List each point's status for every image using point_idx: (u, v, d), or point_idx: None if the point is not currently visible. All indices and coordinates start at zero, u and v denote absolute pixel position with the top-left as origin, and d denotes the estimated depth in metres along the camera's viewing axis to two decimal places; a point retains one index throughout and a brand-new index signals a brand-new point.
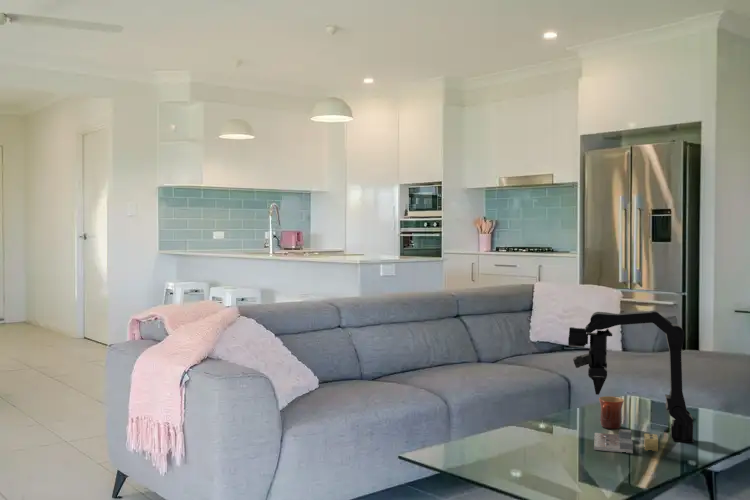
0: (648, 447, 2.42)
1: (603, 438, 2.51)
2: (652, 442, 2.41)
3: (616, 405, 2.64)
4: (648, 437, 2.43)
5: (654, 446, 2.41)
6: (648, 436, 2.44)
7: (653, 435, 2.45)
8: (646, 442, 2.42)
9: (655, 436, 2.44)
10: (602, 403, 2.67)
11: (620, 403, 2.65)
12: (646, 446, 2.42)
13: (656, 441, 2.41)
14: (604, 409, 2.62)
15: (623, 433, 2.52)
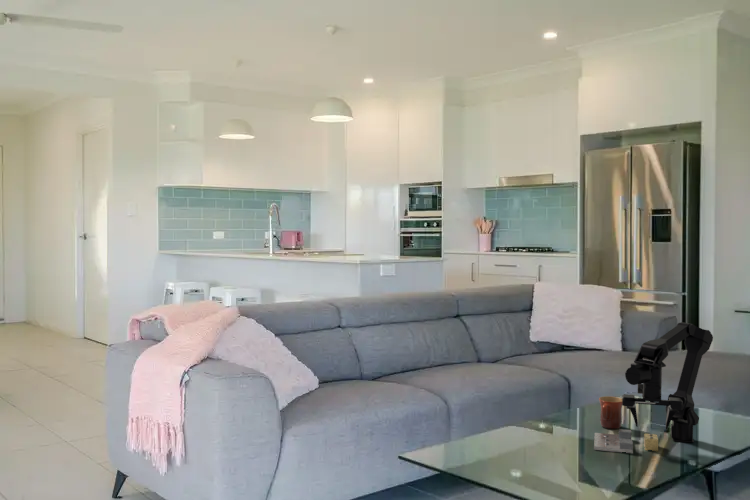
0: (648, 447, 2.42)
1: (603, 438, 2.51)
2: (652, 442, 2.41)
3: (616, 405, 2.64)
4: (648, 437, 2.43)
5: (654, 446, 2.41)
6: (648, 436, 2.44)
7: (653, 435, 2.45)
8: (646, 442, 2.42)
9: (655, 436, 2.44)
10: (602, 403, 2.67)
11: (620, 403, 2.65)
12: (646, 446, 2.42)
13: (656, 441, 2.41)
14: (604, 409, 2.62)
15: (623, 433, 2.52)
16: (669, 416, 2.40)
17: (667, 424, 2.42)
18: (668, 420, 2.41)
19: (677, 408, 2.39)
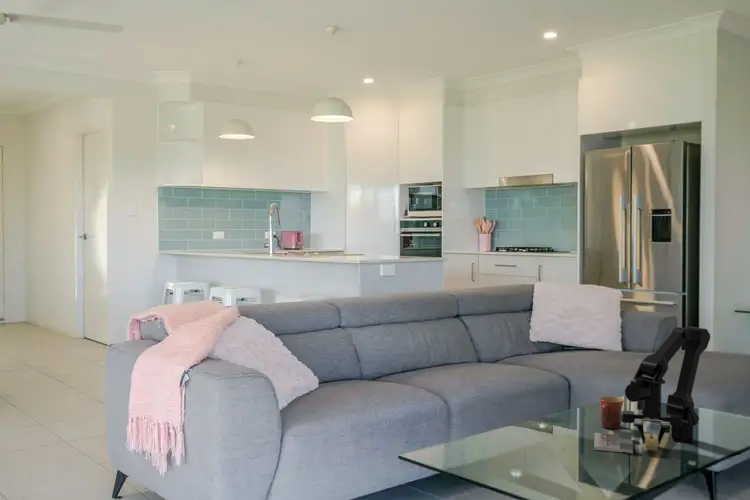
0: (648, 447, 2.42)
1: (603, 438, 2.51)
2: (652, 441, 2.41)
3: (616, 405, 2.64)
4: (648, 437, 2.43)
5: (654, 446, 2.41)
6: (648, 436, 2.44)
7: (653, 435, 2.45)
8: (646, 442, 2.42)
9: (655, 436, 2.44)
10: (602, 403, 2.67)
11: (620, 403, 2.65)
12: (646, 446, 2.42)
13: (656, 441, 2.41)
14: (604, 409, 2.62)
15: (623, 433, 2.52)
16: (661, 432, 2.41)
17: (659, 440, 2.42)
18: (660, 436, 2.42)
19: (676, 425, 2.39)
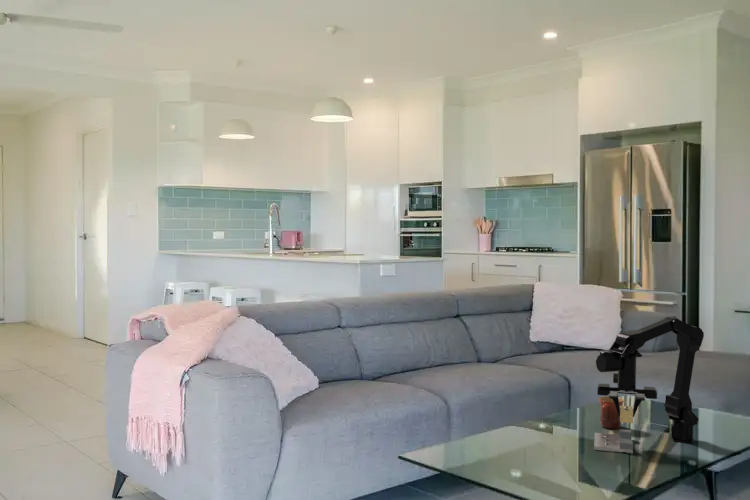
0: (623, 418, 2.44)
1: (603, 438, 2.51)
2: (627, 413, 2.43)
3: None
4: (623, 409, 2.45)
5: (629, 417, 2.43)
6: (623, 408, 2.46)
7: (628, 407, 2.47)
8: (621, 414, 2.44)
9: (630, 408, 2.46)
10: (602, 403, 2.67)
11: (620, 403, 2.65)
12: (621, 418, 2.44)
13: (631, 412, 2.43)
14: (604, 409, 2.62)
15: (623, 433, 2.52)
16: (635, 404, 2.43)
17: (634, 412, 2.44)
18: (635, 408, 2.44)
19: (651, 397, 2.41)
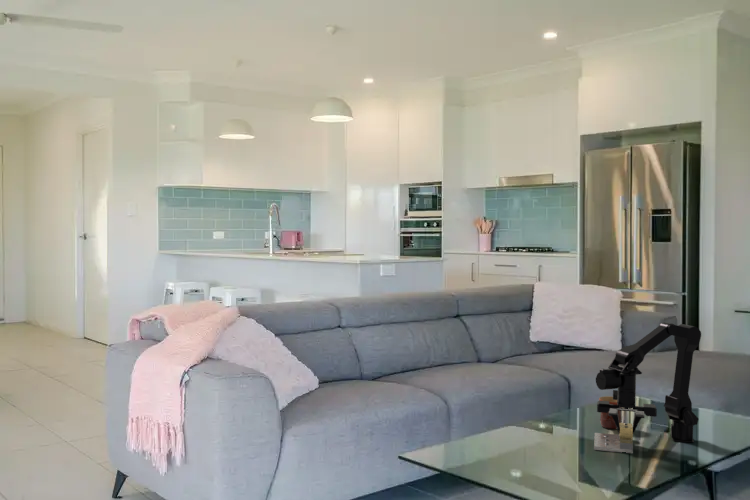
0: (623, 436, 2.44)
1: (603, 438, 2.51)
2: (627, 431, 2.44)
3: None
4: (623, 426, 2.45)
5: (629, 435, 2.43)
6: (623, 425, 2.46)
7: (628, 424, 2.48)
8: (621, 431, 2.44)
9: (630, 425, 2.46)
10: None
11: None
12: (621, 435, 2.44)
13: (631, 430, 2.43)
14: None
15: None
16: (635, 422, 2.43)
17: (633, 430, 2.45)
18: (634, 426, 2.44)
19: (651, 414, 2.41)
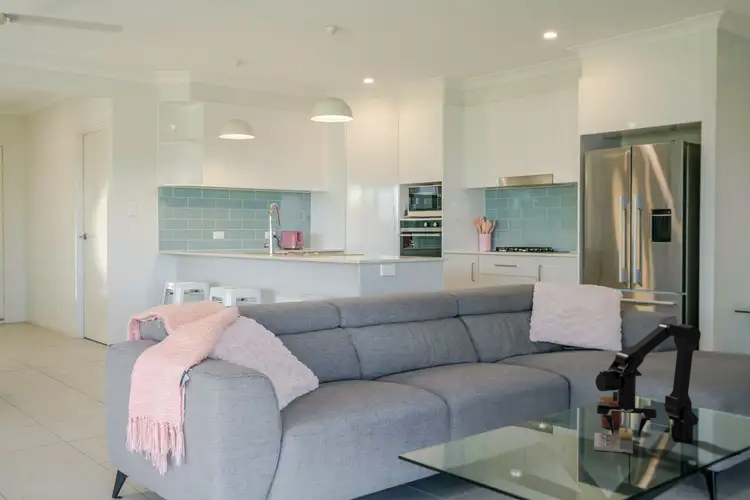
0: None
1: (603, 438, 2.51)
2: (626, 435, 2.44)
3: (616, 405, 2.64)
4: (623, 431, 2.45)
5: (629, 440, 2.43)
6: (623, 430, 2.47)
7: (628, 429, 2.48)
8: (621, 436, 2.44)
9: (630, 430, 2.47)
10: None
11: None
12: None
13: (630, 435, 2.43)
14: None
15: None
16: (641, 424, 2.43)
17: (639, 432, 2.44)
18: (640, 428, 2.43)
19: (650, 416, 2.41)
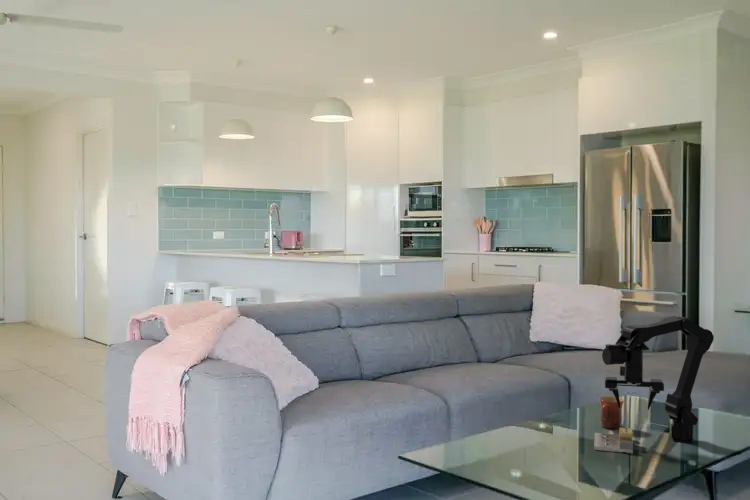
0: None
1: (603, 438, 2.51)
2: (626, 435, 2.44)
3: (616, 405, 2.64)
4: (623, 431, 2.45)
5: (629, 440, 2.43)
6: (623, 430, 2.47)
7: (628, 429, 2.48)
8: (621, 436, 2.44)
9: (630, 430, 2.47)
10: (602, 403, 2.67)
11: (620, 403, 2.65)
12: None
13: (630, 435, 2.43)
14: (604, 409, 2.62)
15: None
16: (650, 397, 2.45)
17: (649, 405, 2.47)
18: (650, 401, 2.46)
19: (658, 389, 2.44)
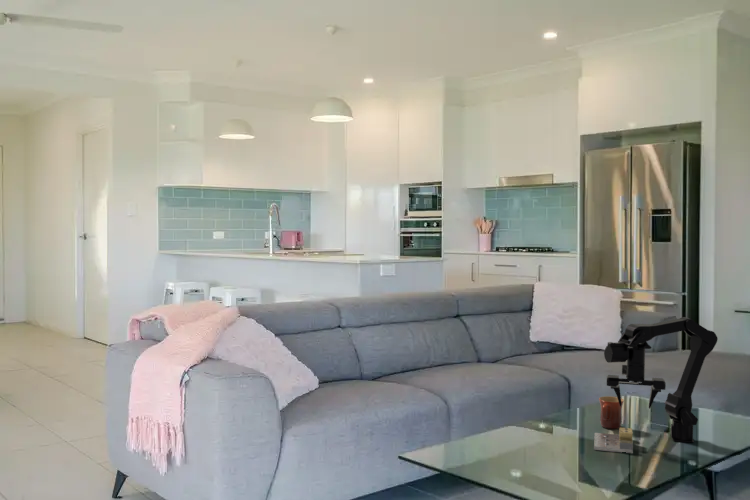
0: None
1: (603, 438, 2.51)
2: (626, 435, 2.44)
3: (616, 405, 2.64)
4: (623, 431, 2.45)
5: (629, 440, 2.43)
6: (623, 430, 2.47)
7: (628, 429, 2.48)
8: (621, 436, 2.44)
9: (630, 430, 2.47)
10: (602, 403, 2.67)
11: None
12: None
13: (630, 435, 2.43)
14: (604, 409, 2.62)
15: None
16: (652, 396, 2.46)
17: (650, 404, 2.47)
18: (651, 400, 2.47)
19: (660, 388, 2.45)
